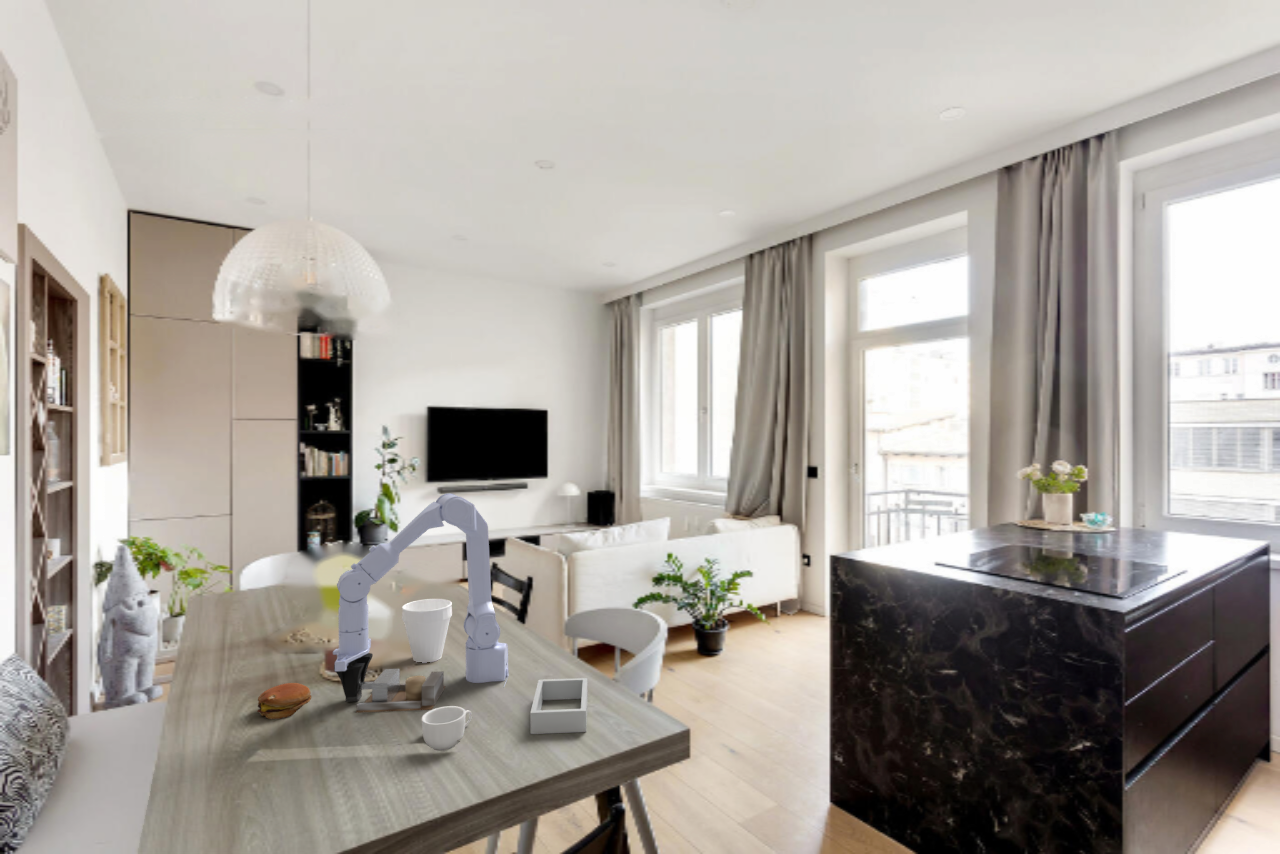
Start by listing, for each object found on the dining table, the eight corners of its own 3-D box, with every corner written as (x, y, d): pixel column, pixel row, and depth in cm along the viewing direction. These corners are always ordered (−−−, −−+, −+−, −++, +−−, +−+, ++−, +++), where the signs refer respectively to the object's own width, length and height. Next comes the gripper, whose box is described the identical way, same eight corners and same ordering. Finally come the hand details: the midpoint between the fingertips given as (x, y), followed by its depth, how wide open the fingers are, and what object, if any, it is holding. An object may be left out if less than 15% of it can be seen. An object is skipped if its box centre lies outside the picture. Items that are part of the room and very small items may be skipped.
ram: (399, 689, 139) (399, 666, 139) (387, 705, 131) (387, 680, 131) (355, 691, 138) (354, 668, 138) (340, 707, 130) (339, 682, 130)
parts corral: (587, 696, 138) (587, 677, 139) (586, 731, 122) (585, 710, 122) (538, 698, 138) (538, 679, 138) (530, 734, 121) (530, 712, 121)
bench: (445, 693, 141) (445, 667, 141) (431, 716, 129) (431, 689, 129) (376, 695, 140) (376, 670, 140) (355, 719, 128) (355, 692, 128)
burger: (316, 698, 139) (316, 677, 139) (302, 717, 130) (302, 694, 130) (267, 703, 137) (267, 681, 137) (249, 722, 128) (249, 699, 128)
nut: (427, 694, 137) (427, 675, 137) (422, 701, 133) (422, 682, 133) (408, 694, 137) (408, 675, 137) (403, 702, 133) (402, 683, 133)
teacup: (437, 759, 112) (437, 728, 112) (413, 746, 117) (413, 716, 117) (484, 738, 120) (484, 709, 120) (459, 726, 125) (459, 698, 125)
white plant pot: (432, 669, 156) (432, 613, 156) (391, 664, 160) (390, 609, 160) (462, 652, 167) (461, 600, 168) (422, 648, 171) (422, 597, 171)
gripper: (347, 619, 141) (347, 680, 141) (318, 640, 127) (319, 709, 127) (380, 618, 142) (380, 679, 142) (355, 639, 127) (355, 707, 127)
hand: (353, 693), depth 134 cm, fingers closed on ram, 2 cm apart
